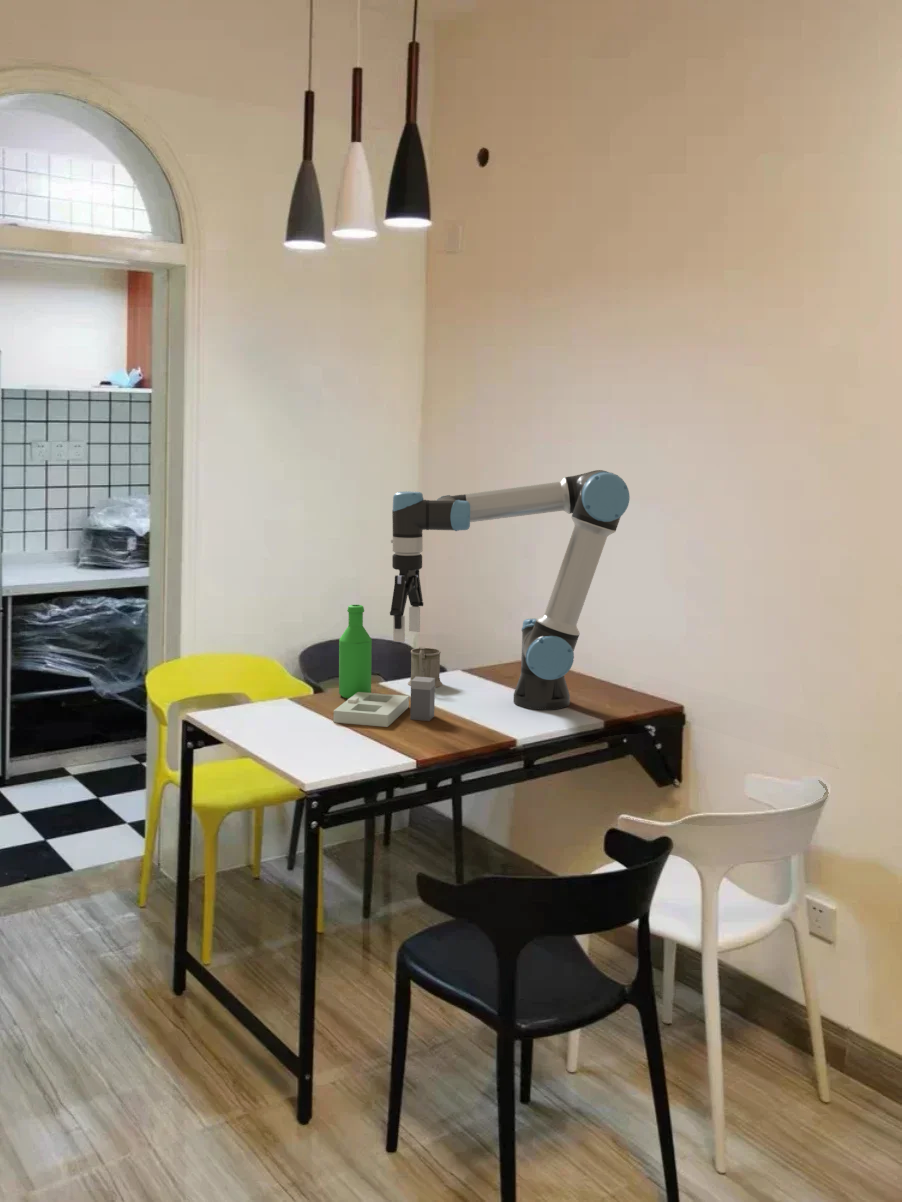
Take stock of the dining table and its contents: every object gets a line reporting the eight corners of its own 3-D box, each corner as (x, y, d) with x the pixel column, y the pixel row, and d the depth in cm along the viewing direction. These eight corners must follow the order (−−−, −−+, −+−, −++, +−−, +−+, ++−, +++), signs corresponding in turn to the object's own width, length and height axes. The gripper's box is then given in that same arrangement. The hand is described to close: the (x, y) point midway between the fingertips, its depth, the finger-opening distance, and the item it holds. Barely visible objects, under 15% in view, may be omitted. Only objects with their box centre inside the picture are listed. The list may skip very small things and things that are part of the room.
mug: (411, 679, 329) (411, 638, 327) (444, 681, 327) (445, 640, 326) (402, 691, 315) (402, 648, 313) (437, 692, 313) (437, 650, 311)
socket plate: (408, 707, 298) (408, 693, 297) (387, 726, 278) (387, 711, 278) (357, 702, 301) (357, 689, 300) (333, 722, 281) (333, 707, 281)
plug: (434, 716, 289) (435, 677, 288) (429, 721, 285) (430, 682, 283) (415, 714, 291) (415, 676, 289) (410, 719, 286) (410, 680, 284)
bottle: (373, 692, 312) (374, 603, 308) (368, 700, 303) (369, 608, 299) (342, 691, 313) (342, 602, 309) (335, 699, 304) (336, 607, 300)
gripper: (407, 547, 297) (406, 626, 301) (377, 558, 273) (377, 644, 277) (434, 548, 295) (434, 628, 299) (407, 559, 272) (406, 646, 275)
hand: (406, 636), depth 288 cm, fingers open, 13 cm apart
